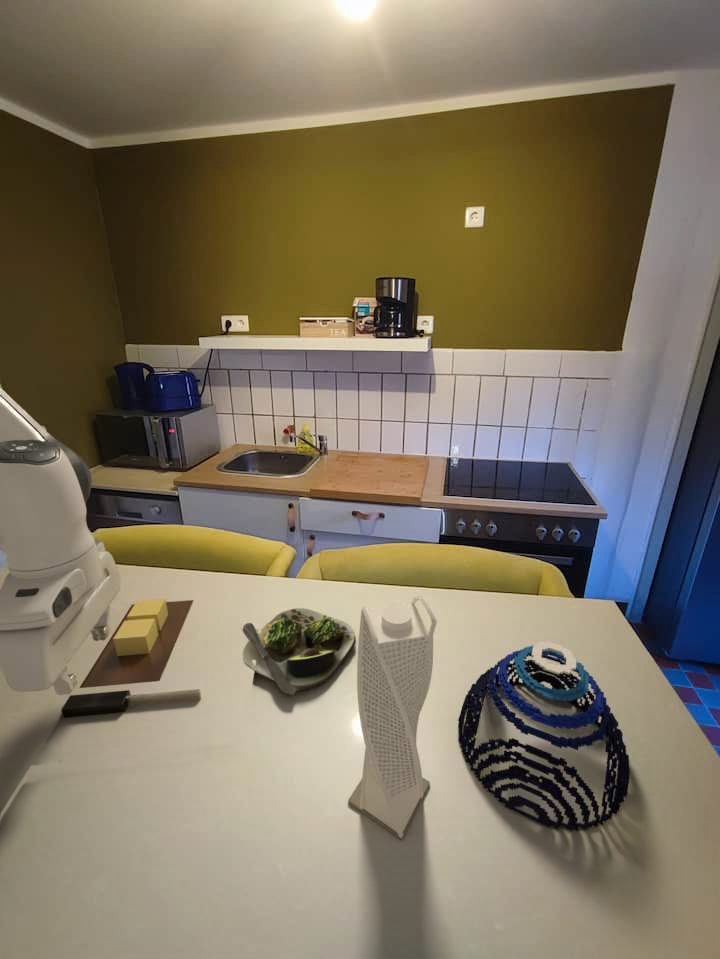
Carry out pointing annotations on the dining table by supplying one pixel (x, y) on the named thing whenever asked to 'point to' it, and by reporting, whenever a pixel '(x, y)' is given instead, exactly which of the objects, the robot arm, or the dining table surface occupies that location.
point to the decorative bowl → (545, 735)
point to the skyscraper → (392, 711)
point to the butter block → (136, 637)
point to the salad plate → (299, 648)
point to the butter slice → (150, 611)
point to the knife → (120, 701)
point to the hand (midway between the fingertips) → (86, 661)
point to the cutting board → (142, 665)
